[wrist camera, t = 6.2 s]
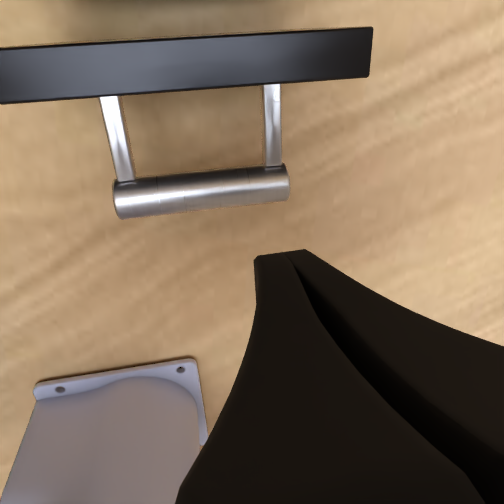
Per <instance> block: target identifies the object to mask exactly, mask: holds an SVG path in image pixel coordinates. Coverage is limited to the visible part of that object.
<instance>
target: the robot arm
mask: <svg viewBox="0 0 504 504" xmlns="http://www.w3.org/2000/svg"><path fill="white" fill-rule="evenodd" d="M254 274H255V290H256V310H255V315H254V321H253V326H252V330H251V334H250V338H249V342H248V345H247V348H246V352H245V355H244V358H243V361H242V364H241V366H240V369H239V372H238V374H237V377H236V380H235V382H234V385H233V387H232V390H231V392H230V394H229V396H228V398H227V401H226V403H225V405H224V407H223V409H222V411H221V413H220V415H219V417H218V419H217V421H216V423H215V426H214V428H213V430H212V431H211V433H210V435H209V437H208V430H207V424H206V418H205V411H204V405H203V399H202V393H201V386H200V380H199V374H198V368H197V363H196V361H195V360H194V359H191V358H189V359H182V360H175V361H169V362H163V363H157V364H150V365H144V366H138V367H132V368H125V369H119V370H113V371H107V372H101V373H94V374H88V375H82V376H76V377H69V378H63V379H57V380H51V381H44V382H40V383H37V384H36V385H35V387H34V389H33V394H34V396H35V398H36V404H35V407H34V409H33V412H32V415H31V417H30V420H29V423H28V425H27V428H26V431H25V434H24V436H23V439H22V442H21V444H20V447H19V450H18V452H17V455H16V458H15V461H14V463H13V466H12V469H11V471H10V474H9V477H8V479H7V482H6V485H5V488H4V490H3V493H2V496H1V500H0V504H504V346H501V345H498V344H495V343H492V342H489V341H486V340H484V339H481V338H478V337H475V336H472V335H469V334H466V333H464V332H461V331H458V330H456V329H453V328H451V327H448V326H445V325H443V324H441V323H438V322H436V321H434V320H431V319H429V318H427V317H425V316H422V315H420V314H418V313H415V312H413V311H411V310H409V309H407V308H405V307H403V306H401V305H399V304H397V303H395V302H393V301H391V300H389V299H387V298H385V297H383V296H382V295H380V294H378V293H376V292H374V291H372V290H371V289H369V288H367V287H365V286H364V285H362V284H360V283H359V282H357V281H355V280H354V279H352V278H350V277H349V276H347V275H345V274H344V273H342V272H341V271H339V270H337V269H336V268H334V267H333V266H331V265H330V264H328V263H327V262H325V261H324V260H322V259H320V258H319V257H317V256H316V255H314V254H313V253H311V252H309V251H307V250H306V249H303V250H295V251H288V252H281V253H274V254H267V255H259V256H257V257H256V258H255V259H254ZM178 367H183V368H178ZM60 387H63V388H60ZM202 445H204V446H203V448H202V449H201V451H200V446H202Z"/></svg>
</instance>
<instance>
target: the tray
mask: <svg viewBox="0 0 504 504" xmlns="http://www.w3.org/2000/svg"><path fill="white" fill-rule="evenodd" d="M372 39H373V27H342V28H313V29H290V30H272V31H255V32H237V33H219V34H201V35H184V36H166V37H148V38H131V39H113V40H95V41H77V42H60V43H47V44H34V45H22V46H9V47H0V104H1V105H4V104H18V103H31V102H45V101H58V100H71V99H85V98H99V102H100V107H101V111H102V116H103V120H104V124H105V129H106V133H107V138H108V142H109V146H110V151H111V155H112V160H113V164H114V169H115V173H116V177H117V179H115V180H113V183H112V195H113V202H114V207H115V210H116V213H117V216H118V217H119V219H121V220H124V219H133V218H142V217H150V216H159V215H168V214H177V213H186V212H195V211H203V210H212V209H221V208H230V207H239V206H247V205H256V204H265V203H274V202H283V201H287V200H288V199H289V196H290V176H289V171H288V168H287V166H286V164H285V163H283V162H282V126H281V84H287V83H300V82H314V81H327V80H340V79H354V78H367V77H368V76H369V72H370V61H371V50H372ZM246 86H260V105H261V133H262V161H263V163H264V164H260V165H250V166H240V167H230V168H220V169H210V170H200V171H190V172H180V173H170V174H160V175H150V176H140V177H136V174H137V173H136V168H135V163H134V158H133V153H132V148H131V143H130V138H129V133H128V128H127V123H126V118H125V113H124V108H123V103H122V98H121V96H125V95H139V94H152V93H166V92H179V91H192V90H206V89H219V88H233V87H246Z"/></svg>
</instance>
